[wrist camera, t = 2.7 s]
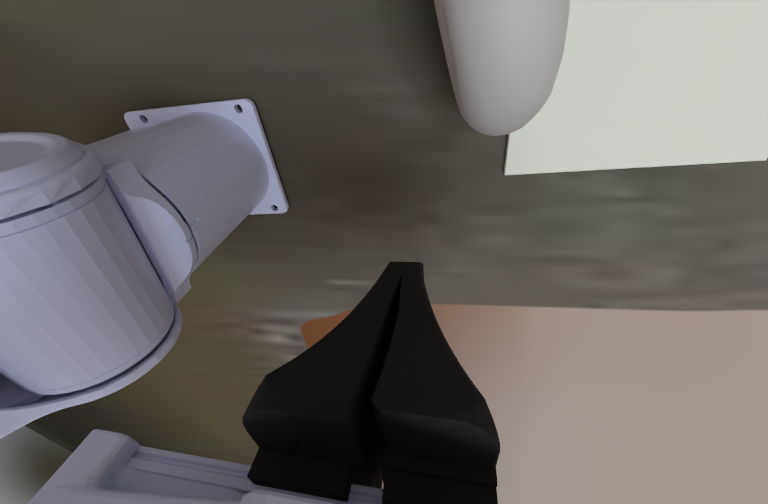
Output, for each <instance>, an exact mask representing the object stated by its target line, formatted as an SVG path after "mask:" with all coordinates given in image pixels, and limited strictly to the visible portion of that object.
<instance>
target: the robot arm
mask: <svg viewBox="0 0 768 504" xmlns="http://www.w3.org/2000/svg"><path fill="white" fill-rule="evenodd" d="M238 104H239V105H240V106H241V107H242V110H243V111H242V112H241V111H240V110H239V109H238V106H237V105H238ZM144 116H145V117H146V118H147V120H148V121H147V120H146V119H145V117H144ZM124 119H125V121H126V123H127V125H128V126H129V128H130V130H128V131H125V132H123V133H120V134H117V135H114V136H111V137H108V138H105V139H102V140H99V141H97V142H94V143H91V144H88V145H84V144H81V143H77V142H74V141H71V140H69V139H67V138H64V137H62V136H59V135H55V134H49V133H38V132H9V133H0V438H2V437H4V436H6V435H8V434H9V433H11V432H13V431H15V430H17V429H19V428H20V427H22V426H24V425H26V424H28V423H30V422H32V421H34V420H36V419H38V418H40V417H42V416H45V415H47V414H49V413H52V412H55V411H58V410H61V409H64V408H67V407H71V406H75V405H79V404H83V403H87V402H90V401H94V400H96V399H99V398H102V397H104V396H107V395H109V394H111V393H113V392H115V391H117V390H120V389H122V388H123V387H125V386H127V385H129V384H130V383H132V382H134V381H135V380H137V379H138V378H140V377H141V376H142V375H144V374H145V373H147V372H148V371H149V370H151V369H152V368H153V367H154V366H155V365H156V364H157V363H159V362H160V361H161V360H162V358H163V357H164V356H165V355H166V354H167V353H168V352H169V351H170V349H171V348H172V347H173V345H174V344H175V342H176V340H177V338H178V336H179V334H180V331H181V328H182V314H181V311H180V309H179V307H178V306H177V303H178V302H179V301H180V300H181V298H182V297H183V296H184V295H185V294H186V293H187V292H188V291H189V290H190V289H191V286H190V283H189V277H190V275H191V273H192V272H193V271H194V270H195V269H196V268H197V267H198V266H199V265H200V264H201V263H202V262H203V261H204V260H205V259H206V258H207V257H208V256H209V255H210V254H211V253H212V252H213V251H214V250H215V249H216V247H217V246H218V245H219V244H220V243H221V242H222V241H223V240H224V239H225V238H226V237H227V236H228V235H229V234H230V233H231V232H232V231H233V230H234V229H235V228H236V227H237V226H238V225H239V224H240V223H241V222H242V221H243V220H244V219H245V218H246V217H247V216H248V215H253V214H277V213H285V212H286V211H287V210H288V208H289V205H288V202H287V199H286V196H285V193H284V190H283V187H282V184H281V181H280V178H279V175H278V172H277V169H276V166H275V163H274V160H273V157H272V154H271V151H270V148H269V145H268V142H267V139H266V136H265V133H264V130H263V127H262V124H261V121H260V118H259V115H258V112H257V109H256V106H255V104H254V102H253V101H252V100H250V99H248V98H243V99H234V100H225V101H216V102H208V103H199V104H190V105H181V106H173V107H164V108H155V109H146V110H138V111H130V112H127V113H125V114H124ZM273 205H276V206H277V207H278V209H277V208H275V207H274V206H273ZM243 425H244V427H245V429H246V431H247V432H248V433H249V434H250V436H251V437H252V438H253V440H254V441H255V442H256V444H257V445H258V446H259V450H258V452H257V455H256V457H255V459H254V461H253V463H252V466H250V465H244V464H239V463H233V462H227V461H222V460H216V459H210V458H205V457H199V456H194V455H188V454H182V453H177V452H171V451H165V450H160V449H154V448H148V447H143V446H139V444H138V443H137V442H136V441H135V440H134V439H132V438H131V437H129V436H127V435H124V434H121V433H116V432H111V431H105V430H99V429H95V430H93V431H92V432H91V433H90V434H89V435H88V436H87V437H86V439H85V440H84V441H83V442H82V443H81V444H80V445H79V446H78V448H77V449H76V450H75V451H74V452H73V453H72V454H71V456H70V457H69V458H68V459H67V460H66V461H65V462H64V463H63V465H62V466H61V467H60V468H59V469H58V470H57V471H56V473H55V474H54V475H53V476H52V477H51V478H50V479H49V480H48V482H47V483H46V484H45V485H44V486H43V487H42V488H41V490H40V491H39V492H38V493H37V494H36V495H35V496H34V497H33V499H32V500H31V501H30V502H29V503H28V504H498V502H497V492H496V487H497V476H496V463H497V460H498V456H499V453H500V442H499V438H498V433H497V430H496V427H495V424H494V421H493V418H492V416H491V413H490V411H489V408H488V406H487V403H486V401H485V399H484V397H483V396H482V394H481V393H480V392H479V391H478V389H477V388H476V387H475V385H474V384H473V382H472V381H471V380H470V378H469V377H468V375H467V374H466V372H465V371H464V370H463V368H462V366H461V365H460V363H459V362H458V360H457V358H456V357H455V355H454V353H453V352H452V350H451V348H450V347H449V345H448V343H447V341H446V339H445V337H444V335H443V333H442V331H441V329H440V327H439V325H438V323H437V320H436V318H435V315H434V313H433V310H432V307H431V305H430V302H429V298H428V295H427V292H426V288H425V283H424V272H423V264H422V263H421V262H390V263H389V264H388V265H387V267H386V269H385V270H384V272H383V273H382V275H381V276H380V277H379V279H378V280H377V282H376V283H375V284H374V286H373V287H372V288H371V289H370V291H369V292H368V293H367V295H366V296H365V297H364V298H363V299H362V300H361V302H360V303H359V304H358V305H357V306H356V307H355V308H354V310H353V311H352V312H351V313H350V314H349V315H348V316H347V317H346V318H345V319H344V320H343V321H342V322H341V323H340V324H338V325H337V326H336V327H335V328H334V329H333V330H332V331H331V332H329V333H328V334H327V335H326V336H325V337H324V338H322V339H321V340H320V341H318V342H317V343H316V344H314V345H313V346H312V347H310V348H309V349H307V350H306V351H305V352H303V353H302V354H300V355H299V356H297V357H296V358H294V359H293V360H291V361H290V362H288V363H286V364H284V365H283V366H281V367H279V368H278V369H276V370H274V371H273V372H271V373H269V374H267V375H266V376H265V378H264V380H263V381H262V383H261V384H260V386H259V387H258V389H257V391H256V392H255V394H254V396H253V398H252V400H251V402H250V404H249V406H248V408H247V409H246V411H245V413H244V415H243ZM382 480H383V483H384V489H381V486H382Z"/></svg>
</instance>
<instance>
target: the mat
mask: <svg viewBox="0 0 768 504" xmlns="http://www.w3.org/2000/svg"><path fill="white" fill-rule="evenodd" d="M767 157H768V0H570V9H569V18H568V25H567V32H566V39H565V46H564V53H563V56H562V60H561V64H560V67H559V70H558V73H557V77H556V80H555V83H554V86H553V89H552V92H551V95H550V96H549V98H548V99H547V101H546V102H545V104H544V105H543V107H542V108H541V110H540V111H539V112H538V113H537V114H536V115H535V117H534V118H533V119H532V120H530V121H529V122H528V123H527V124H526V125H525V126H523V127H522V128H521V129H519V130H516V131H514V132H512V133H510V134H508V140H507V148H506V157H505V165H504V175H517V174H534V173H552V172H569V171H586V170H604V169H621V168H639V167H656V166H674V165H691V164H709V163H726V162H744V161H761V160H766V159H767Z"/></svg>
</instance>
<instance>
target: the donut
mask: <svg viewBox="0 0 768 504" xmlns="http://www.w3.org/2000/svg"><path fill="white" fill-rule="evenodd" d="M434 5H435V9H436V14H437V19H438V24H439V29H440V34H441V38H442V43H443V48H444V52H445V57H446V61H447V66H448V70H449V74H450V78H451V83H452V87H453V91H454V94H455V98H456V101H457V105H458V107H459V110H460V113H461V115H462V117H463V118H464V119H465V120H466V122H467V123H468V124H469V125H470V126H471V127H472V128H473V129H475V130H477V131H478V132H480V133H482V134H486V135H492V136H500V135H506V134H510V133H512V132H514V131H516V130H519V129H521V128H522V127H523V126H525V125H526V124H527V123H528V122H529V121H530V120H532V119H533V118H534V117H535V115H536V114H537V113H538V112H539V111H540V110H541V108H542V107H543V105H544V104H545V102H546V101H547V99H548V98H549V96H550V95H551V92H552V89H553V86H554V83H555V80H556V77H557V73H558V70H559V67H560V64H561V60H562V56H563V53H564V46H565V39H566V32H567V25H568V18H569V9H570V0H434Z"/></svg>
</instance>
